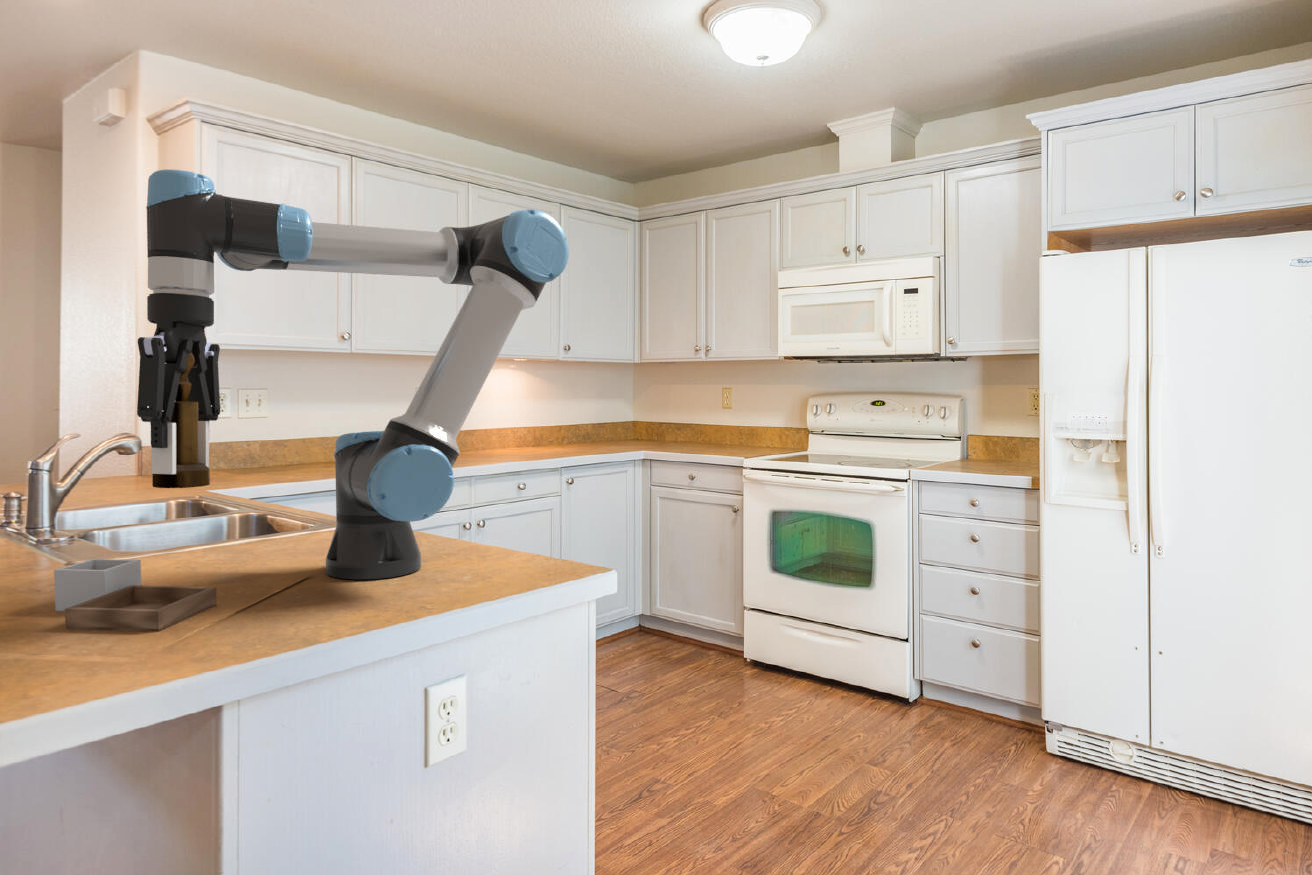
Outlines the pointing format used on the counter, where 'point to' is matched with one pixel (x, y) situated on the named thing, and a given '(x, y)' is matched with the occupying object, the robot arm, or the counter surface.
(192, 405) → the brown wooden tall piece
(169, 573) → the counter surface
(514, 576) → the counter surface
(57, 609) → the grey tub
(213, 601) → the walnut tray
